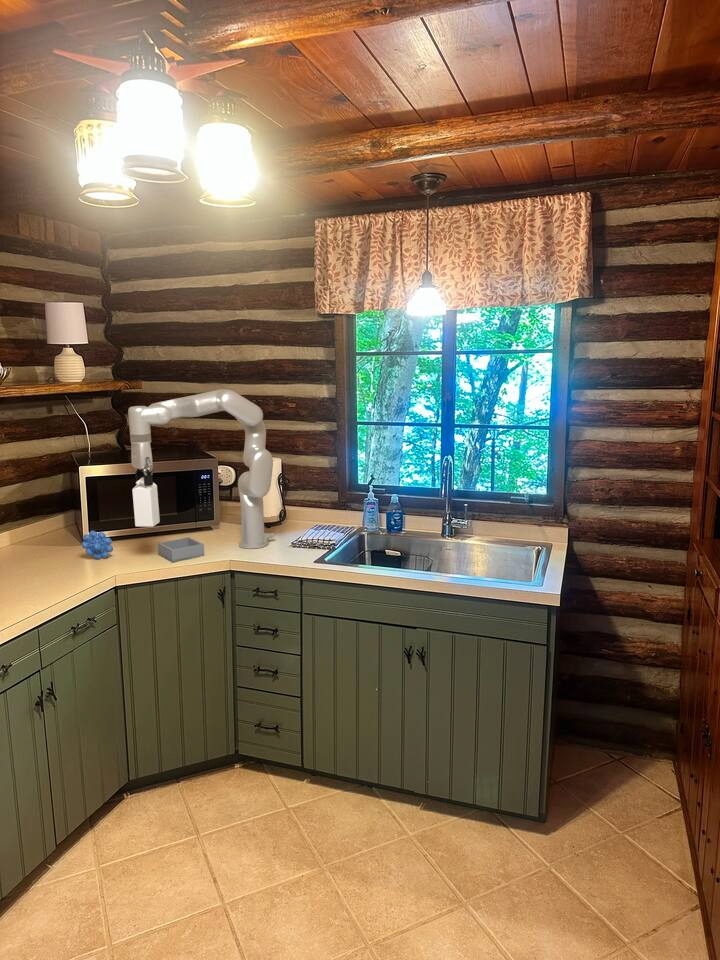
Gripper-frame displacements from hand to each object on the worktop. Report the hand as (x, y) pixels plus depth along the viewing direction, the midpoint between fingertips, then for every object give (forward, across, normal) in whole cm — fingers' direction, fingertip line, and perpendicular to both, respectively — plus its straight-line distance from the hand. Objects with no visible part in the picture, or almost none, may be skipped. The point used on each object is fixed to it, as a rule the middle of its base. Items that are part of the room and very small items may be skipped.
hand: (144, 483), depth 267 cm
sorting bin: (+31, +1, +12) cm, 34 cm away
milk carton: (+17, 0, 0) cm, 17 cm away
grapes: (+31, -15, -16) cm, 38 cm away
